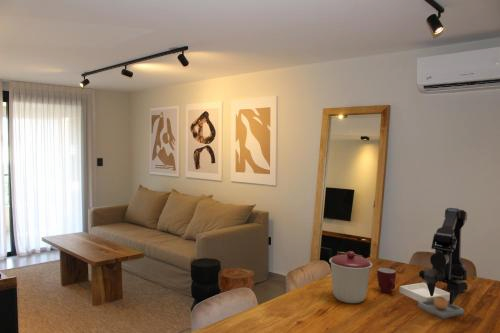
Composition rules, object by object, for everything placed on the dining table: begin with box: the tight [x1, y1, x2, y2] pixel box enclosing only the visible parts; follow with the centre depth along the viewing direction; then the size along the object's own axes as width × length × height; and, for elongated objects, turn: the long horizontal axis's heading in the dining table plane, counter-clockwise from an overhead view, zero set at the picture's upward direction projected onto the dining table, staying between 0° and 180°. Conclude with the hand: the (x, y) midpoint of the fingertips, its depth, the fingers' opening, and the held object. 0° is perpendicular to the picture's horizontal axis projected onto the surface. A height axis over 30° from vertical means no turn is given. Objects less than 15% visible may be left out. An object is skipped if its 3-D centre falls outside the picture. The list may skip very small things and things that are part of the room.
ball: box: [434, 297, 449, 309], centre depth 159 cm, size 5×5×5 cm
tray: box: [417, 299, 465, 320], centre depth 159 cm, size 12×12×2 cm
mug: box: [376, 267, 397, 294], centre depth 178 cm, size 10×8×10 cm
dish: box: [398, 282, 450, 302], centre depth 175 cm, size 15×15×3 cm
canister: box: [329, 250, 373, 304], centre depth 169 cm, size 18×18×21 cm
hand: (441, 300), depth 159 cm, fingers open, 9 cm apart
